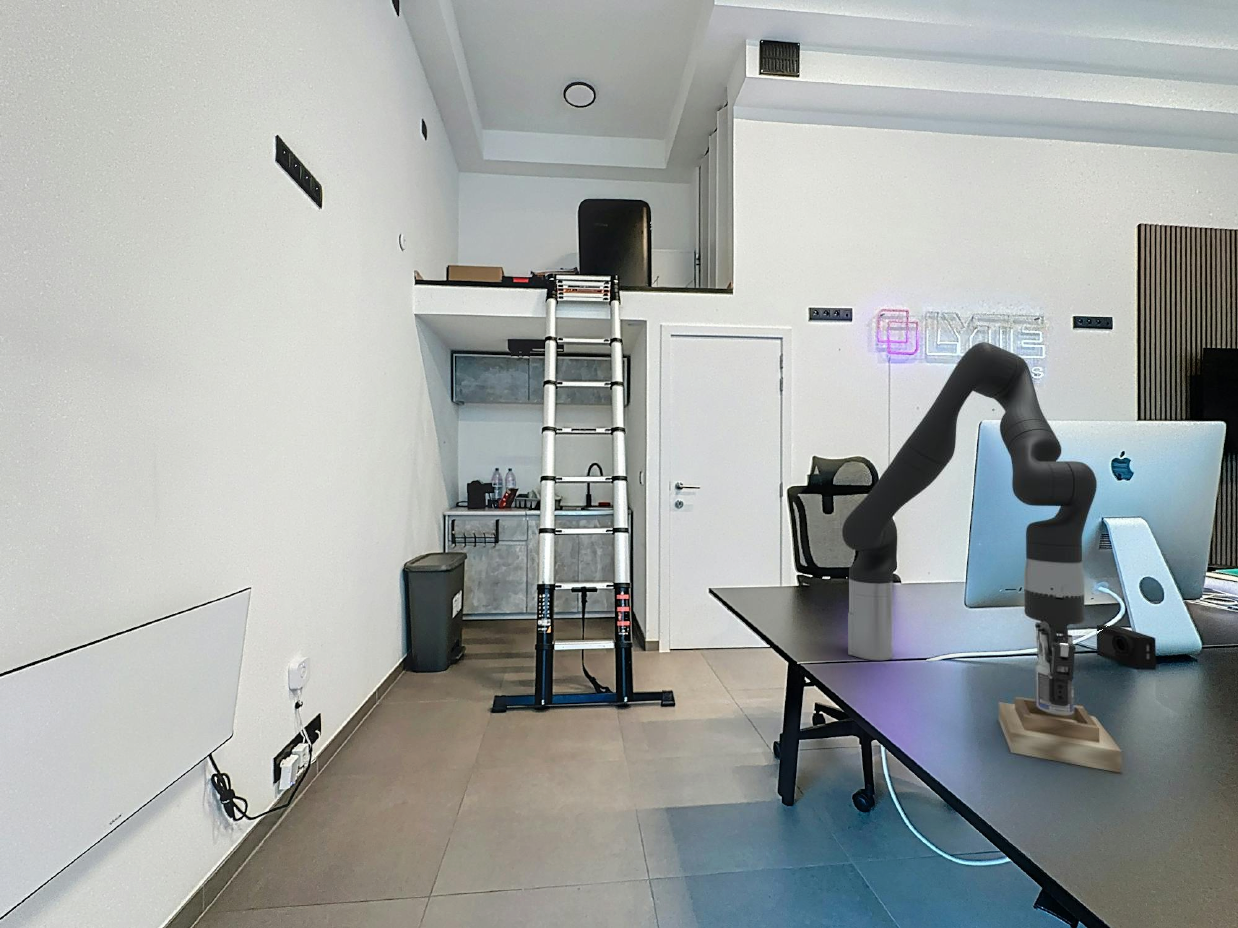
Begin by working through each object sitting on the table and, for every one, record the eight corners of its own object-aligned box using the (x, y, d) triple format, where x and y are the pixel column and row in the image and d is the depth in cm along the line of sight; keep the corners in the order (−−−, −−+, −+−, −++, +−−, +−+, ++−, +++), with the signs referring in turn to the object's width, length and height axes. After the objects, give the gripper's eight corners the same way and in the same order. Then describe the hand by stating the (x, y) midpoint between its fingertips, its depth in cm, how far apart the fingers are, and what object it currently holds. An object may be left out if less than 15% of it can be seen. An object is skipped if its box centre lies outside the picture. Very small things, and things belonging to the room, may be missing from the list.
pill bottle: (1080, 717, 87) (1080, 661, 88) (1045, 714, 88) (1045, 659, 88) (1063, 704, 92) (1063, 651, 92) (1030, 702, 93) (1029, 650, 93)
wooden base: (1011, 752, 87) (1011, 719, 87) (998, 719, 99) (998, 690, 99) (1121, 772, 81) (1121, 736, 81) (1094, 735, 93) (1094, 703, 93)
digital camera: (1090, 654, 135) (1090, 624, 135) (1114, 654, 135) (1113, 624, 135) (1130, 669, 125) (1130, 637, 125) (1155, 669, 125) (1155, 637, 125)
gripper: (1016, 579, 99) (1017, 679, 98) (1033, 595, 86) (1034, 710, 85) (1071, 583, 95) (1072, 687, 95) (1097, 600, 82) (1098, 720, 82)
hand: (1054, 697), depth 90 cm, fingers closed on pill bottle, 4 cm apart
